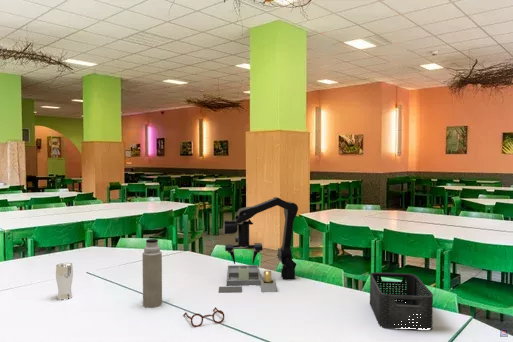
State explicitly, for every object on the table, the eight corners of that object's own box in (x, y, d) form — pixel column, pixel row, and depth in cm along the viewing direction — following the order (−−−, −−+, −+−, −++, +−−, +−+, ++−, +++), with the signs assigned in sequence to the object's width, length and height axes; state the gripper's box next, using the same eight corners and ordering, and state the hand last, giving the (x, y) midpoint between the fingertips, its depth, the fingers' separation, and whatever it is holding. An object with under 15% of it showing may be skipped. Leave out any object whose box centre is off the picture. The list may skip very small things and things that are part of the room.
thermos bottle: (149, 300, 183) (149, 237, 182) (165, 302, 181) (165, 238, 180) (139, 306, 176) (138, 240, 175) (155, 308, 173) (154, 241, 172)
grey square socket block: (274, 287, 202) (274, 279, 201) (276, 291, 195) (276, 283, 194) (260, 287, 201) (260, 279, 201) (261, 292, 194) (261, 284, 194)
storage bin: (435, 332, 151) (435, 295, 150) (380, 329, 153) (380, 293, 152) (414, 304, 179) (414, 273, 179) (368, 302, 181) (368, 272, 181)
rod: (271, 286, 200) (270, 270, 200) (272, 288, 197) (271, 272, 196) (263, 287, 200) (263, 271, 199) (265, 289, 196) (264, 272, 196)
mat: (241, 286, 202) (241, 286, 202) (242, 292, 194) (242, 291, 194) (219, 287, 201) (219, 286, 201) (218, 292, 193) (218, 292, 193)
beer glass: (76, 296, 188) (76, 263, 187) (63, 301, 182) (63, 267, 181) (65, 294, 191) (65, 262, 190) (52, 299, 185) (52, 265, 184)
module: (248, 279, 214) (248, 265, 214) (248, 282, 209) (248, 267, 209) (238, 279, 214) (238, 265, 214) (238, 282, 209) (238, 267, 209)
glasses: (191, 328, 154) (191, 315, 154) (182, 316, 166) (182, 304, 166) (224, 323, 159) (224, 310, 159) (214, 311, 171) (214, 299, 171)
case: (258, 268, 235) (258, 264, 235) (261, 285, 204) (261, 280, 204) (227, 269, 234) (227, 264, 234) (226, 285, 204) (226, 280, 203)
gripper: (261, 230, 219) (261, 259, 220) (225, 230, 218) (225, 260, 219) (262, 234, 208) (262, 265, 208) (225, 234, 207) (225, 265, 208)
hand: (243, 263), depth 211 cm, fingers open, 9 cm apart
